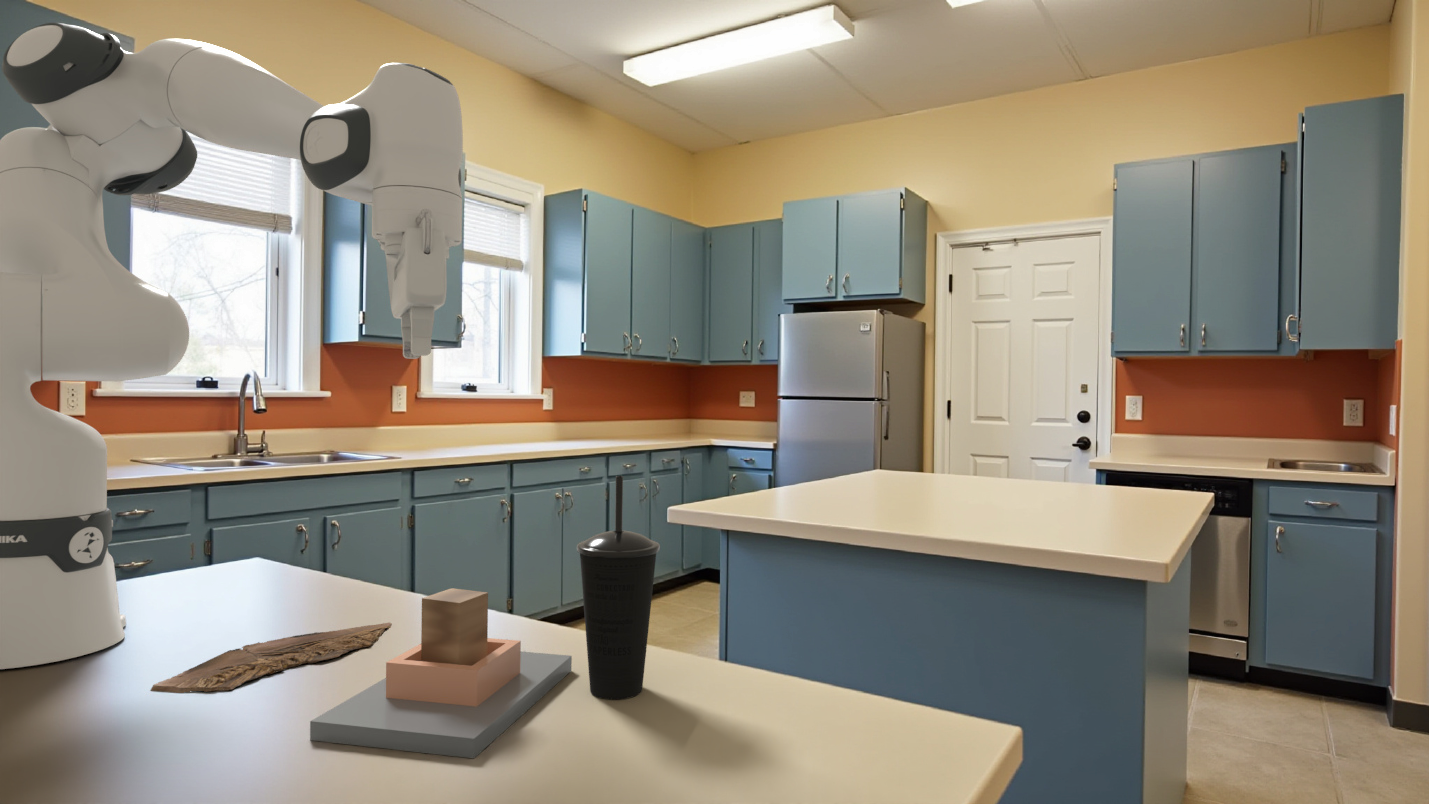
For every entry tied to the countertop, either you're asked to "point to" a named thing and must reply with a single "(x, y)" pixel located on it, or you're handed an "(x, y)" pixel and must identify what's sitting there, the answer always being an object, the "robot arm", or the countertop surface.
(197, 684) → the wooden fragment
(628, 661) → the drinking cup
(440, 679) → the stand
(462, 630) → the brown wooden block
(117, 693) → the countertop surface
